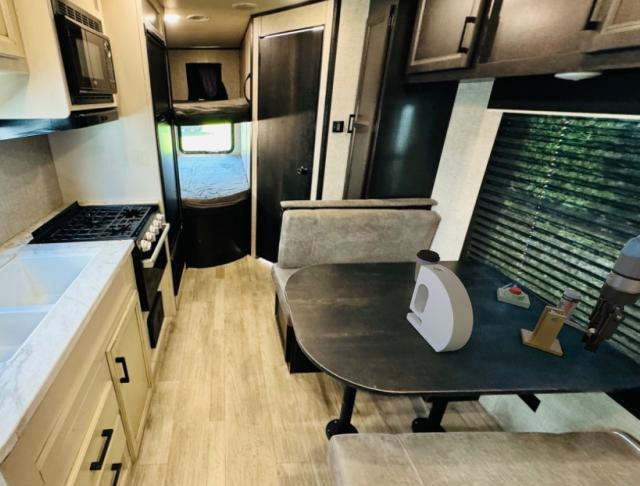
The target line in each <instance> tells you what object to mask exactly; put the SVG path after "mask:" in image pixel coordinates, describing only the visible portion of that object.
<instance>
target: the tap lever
mask: <svg viewBox="0 0 640 486" xmlns="http://www.w3.org/2000/svg"><path fill="white" fill-rule="evenodd" d="M549 312H552V313H555V314H559V315H561V314H560V313H558V312H555V311H553V310H550V311H549ZM546 315H547V314H546ZM564 324H567V325H568V326H571V327H574V328H575V329H577V330H580V331H582V332H584V333H585V332H586V333H587V335H588V337H590V336H591V332H592V333H595V331H596V329H595V328H591V329H587V328H588V327H585V326H583V325H581V324H579V323H576V322H574V321H571V320H570V319H569V320H567V319H566V320H565V322H564Z"/></svg>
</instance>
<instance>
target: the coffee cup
mask: <svg viewBox="0 0 640 486" xmlns="http://www.w3.org/2000/svg"><path fill="white" fill-rule="evenodd" d="M416 257H417V259H416V263H415V273H414V282H415V283H416V282H417V278H418V275H419V271H420V267H421V265H436V264H439V263H438V262H440V261H441V256H440V254H439V253H438V252H437V251H434V250H432V249H425V248H424V249H423V248H422V249H420V250H419V251H417V253H416Z"/></svg>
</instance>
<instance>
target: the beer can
mask: <svg viewBox="0 0 640 486" xmlns="http://www.w3.org/2000/svg"><path fill="white" fill-rule="evenodd" d="M581 300H582V296H581V293H579V292H577V291H574V290H572V289H567V290H565V291H563V293H562V295H561V297H560V299H559V301H558V302H557V305H556V307H555V308H557V309H561V310H564V312H563V314H562V315H563V316H566V319H567V320H569V321H570V320H571V318H572V316H573V313H575V311H576V308H577V307H578V305H579V304H580V301H581Z"/></svg>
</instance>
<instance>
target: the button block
mask: <svg viewBox="0 0 640 486" xmlns="http://www.w3.org/2000/svg"><path fill="white" fill-rule="evenodd" d="M510 289H511V287H505V288H503V287H498V288H497V290H496V295H497V296H496V297H497V301H499V302H503V303H507V304H510V305H514V306H518V307H521V308H525V309H529V307H530V305H531V302H530V297H529V295H528V294H526V293H525V292H524V291H522V292H521V294H520V295H517V294H513V293H511V292H510Z"/></svg>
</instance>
